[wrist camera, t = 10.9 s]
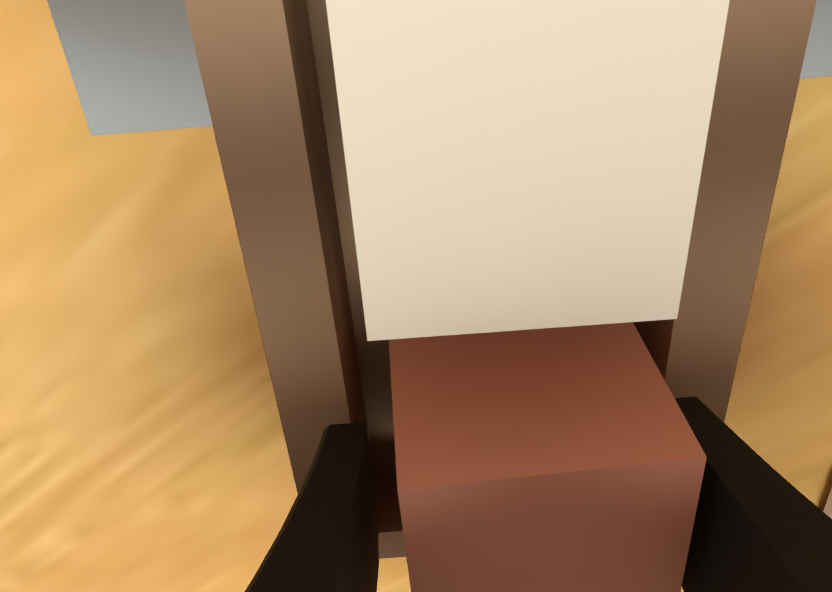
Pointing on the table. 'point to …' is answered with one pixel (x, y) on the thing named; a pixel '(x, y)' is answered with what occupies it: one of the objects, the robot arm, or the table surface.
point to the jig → (330, 201)
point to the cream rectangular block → (522, 157)
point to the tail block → (541, 462)
